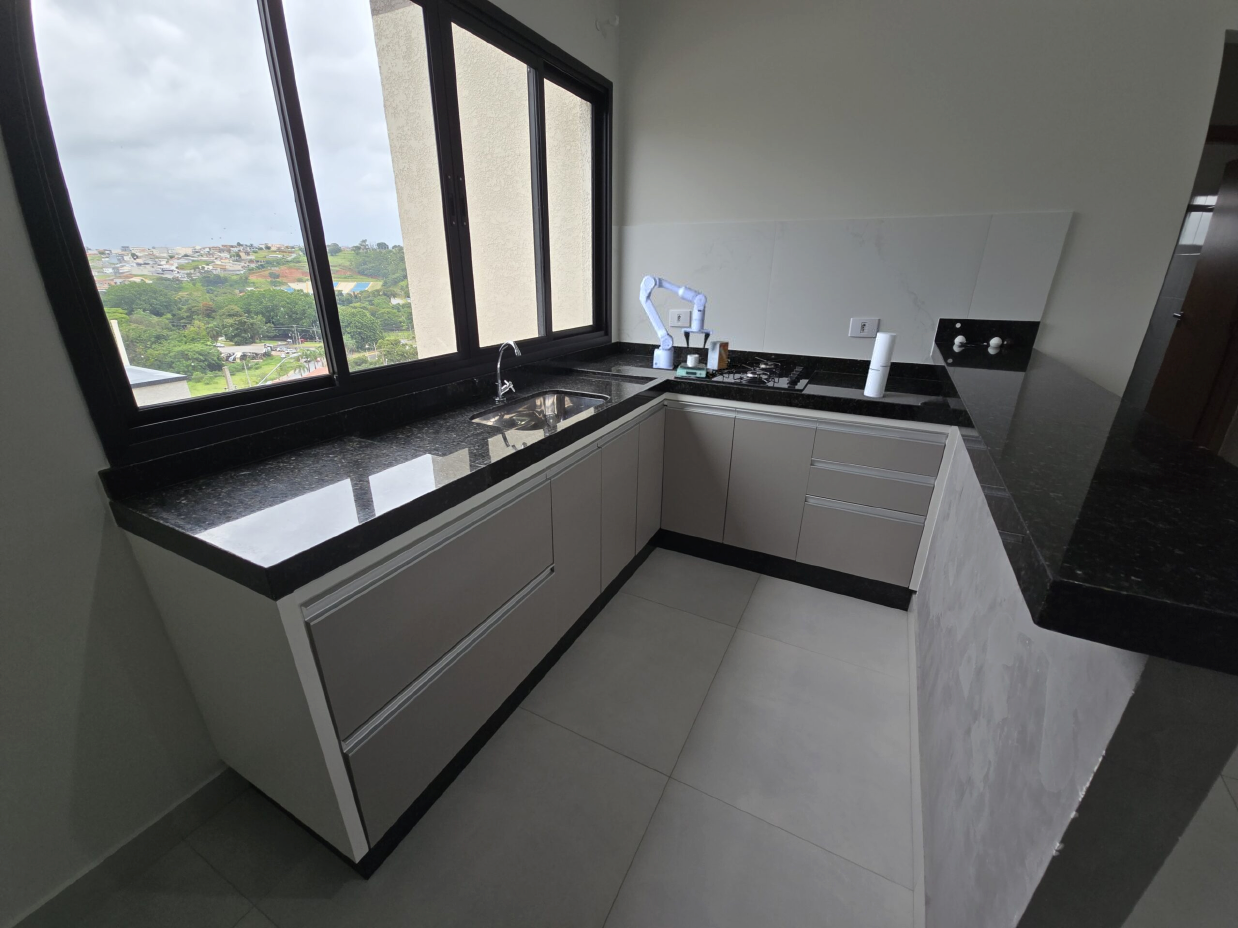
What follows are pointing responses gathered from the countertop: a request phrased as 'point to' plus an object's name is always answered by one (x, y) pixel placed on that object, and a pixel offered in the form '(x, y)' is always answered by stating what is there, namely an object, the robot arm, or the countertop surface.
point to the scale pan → (685, 365)
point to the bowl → (693, 360)
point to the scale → (692, 372)
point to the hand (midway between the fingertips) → (695, 348)
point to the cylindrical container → (880, 364)
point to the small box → (717, 355)
